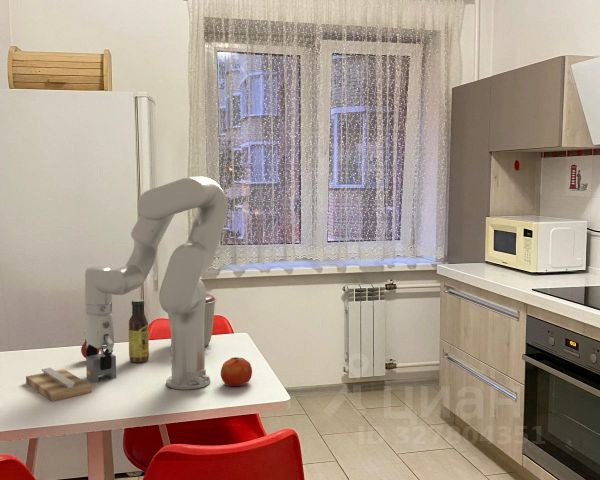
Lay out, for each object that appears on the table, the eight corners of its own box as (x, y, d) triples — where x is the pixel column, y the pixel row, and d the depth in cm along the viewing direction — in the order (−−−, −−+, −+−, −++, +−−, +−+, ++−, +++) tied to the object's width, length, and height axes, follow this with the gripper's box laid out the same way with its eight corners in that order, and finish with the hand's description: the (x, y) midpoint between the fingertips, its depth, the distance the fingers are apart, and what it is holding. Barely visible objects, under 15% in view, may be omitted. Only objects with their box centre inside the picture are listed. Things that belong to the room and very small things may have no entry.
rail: (74, 387, 179) (74, 382, 179) (66, 389, 177) (66, 384, 177) (50, 372, 192) (50, 367, 192) (42, 374, 191) (41, 369, 191)
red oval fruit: (77, 362, 210) (76, 337, 209) (90, 357, 215) (90, 333, 214) (90, 364, 207) (89, 340, 206) (103, 359, 212) (103, 335, 211)
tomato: (223, 390, 183) (222, 363, 182) (218, 380, 191) (218, 354, 191) (255, 388, 185) (255, 360, 184) (249, 378, 194) (249, 352, 193)
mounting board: (91, 392, 181) (91, 385, 181) (52, 401, 174) (51, 394, 174) (63, 375, 196) (63, 368, 196) (26, 383, 189) (25, 376, 189)
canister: (200, 336, 243) (199, 280, 241) (227, 346, 229) (226, 287, 227) (156, 344, 232) (155, 285, 229) (181, 355, 218) (180, 293, 215)
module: (116, 377, 194) (115, 355, 193) (91, 383, 189) (91, 360, 188) (108, 373, 198) (108, 352, 197) (84, 379, 193) (84, 357, 192)
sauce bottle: (146, 363, 208) (144, 302, 206) (126, 363, 208) (125, 302, 206) (151, 357, 215) (149, 298, 213) (132, 357, 215) (130, 298, 213)
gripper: (123, 312, 187) (123, 370, 189) (98, 302, 200) (98, 356, 202) (99, 315, 182) (99, 375, 184) (74, 304, 195) (74, 360, 197)
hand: (98, 365), depth 193 cm, fingers open, 9 cm apart
